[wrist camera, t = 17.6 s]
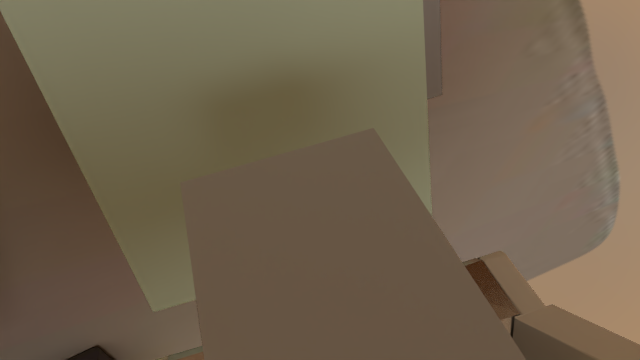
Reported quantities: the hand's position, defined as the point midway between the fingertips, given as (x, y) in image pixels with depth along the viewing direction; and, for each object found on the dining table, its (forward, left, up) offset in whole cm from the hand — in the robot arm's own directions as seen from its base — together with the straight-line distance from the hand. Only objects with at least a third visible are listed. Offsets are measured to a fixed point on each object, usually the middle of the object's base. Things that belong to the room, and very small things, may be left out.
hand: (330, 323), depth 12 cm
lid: (+1, 0, -12) cm, 12 cm away
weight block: (0, 0, -3) cm, 3 cm away
